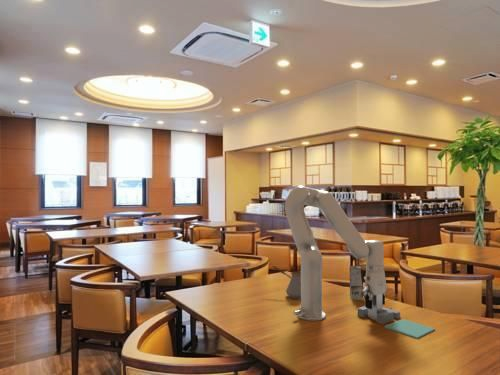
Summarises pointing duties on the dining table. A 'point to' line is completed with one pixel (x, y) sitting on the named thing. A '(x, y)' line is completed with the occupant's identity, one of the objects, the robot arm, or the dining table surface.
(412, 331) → the mat
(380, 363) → the dining table surface
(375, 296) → the steel bar
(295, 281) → the coffee pot
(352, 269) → the coffee box
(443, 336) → the dining table surface
